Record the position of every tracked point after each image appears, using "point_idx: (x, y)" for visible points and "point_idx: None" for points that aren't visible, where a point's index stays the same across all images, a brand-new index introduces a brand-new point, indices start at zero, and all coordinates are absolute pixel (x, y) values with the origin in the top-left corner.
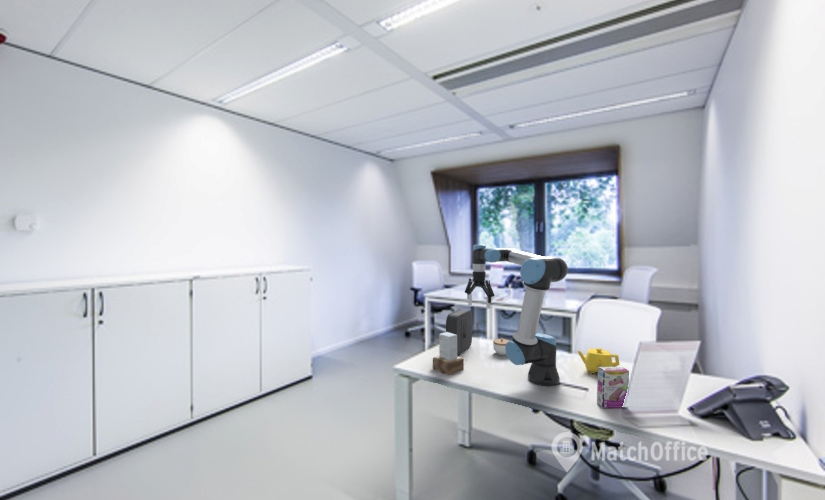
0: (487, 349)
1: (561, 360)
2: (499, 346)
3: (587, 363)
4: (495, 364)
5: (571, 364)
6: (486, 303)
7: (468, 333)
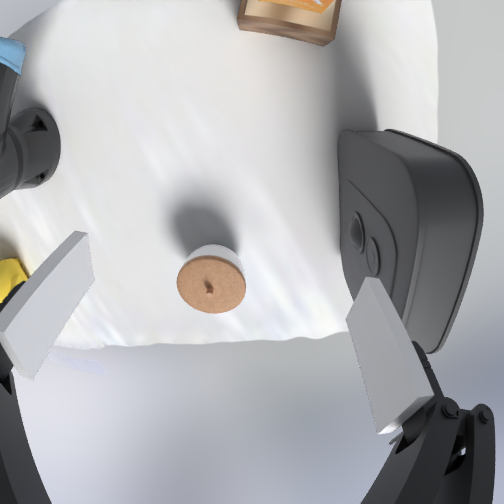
0: (278, 268)
1: None
2: (203, 253)
3: (5, 266)
4: (173, 149)
5: None
6: (51, 271)
7: (356, 270)
